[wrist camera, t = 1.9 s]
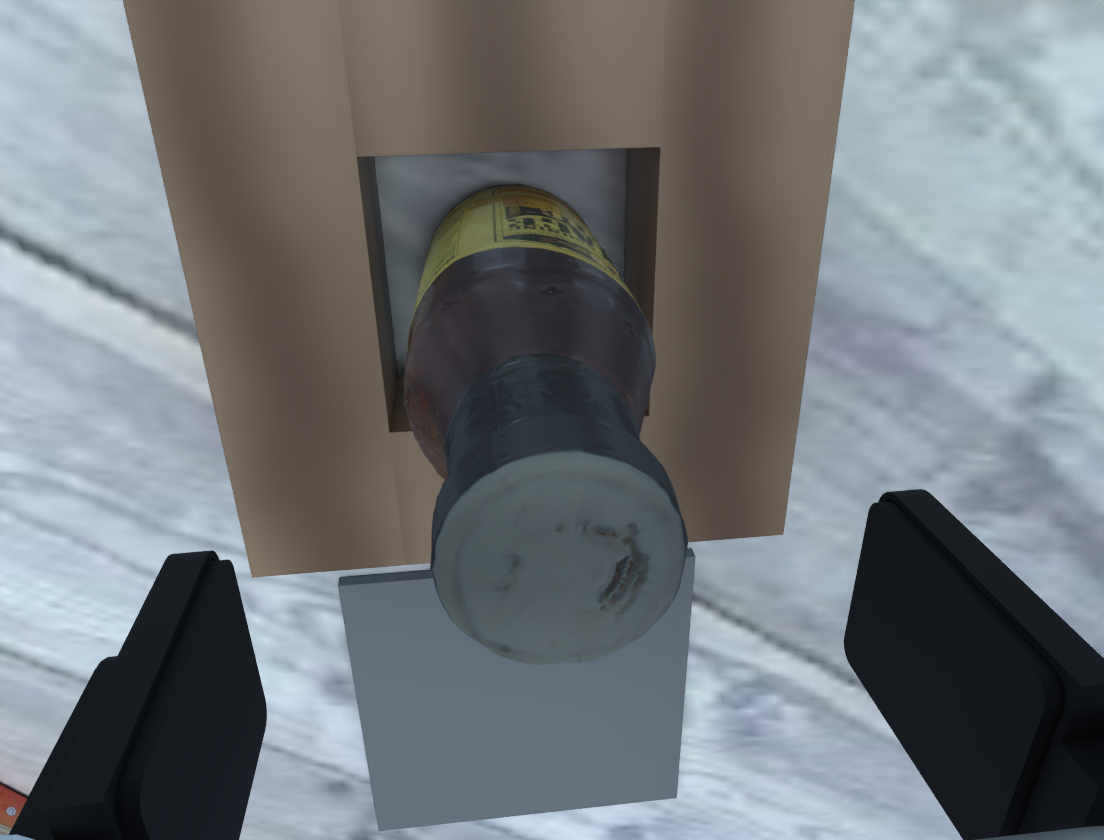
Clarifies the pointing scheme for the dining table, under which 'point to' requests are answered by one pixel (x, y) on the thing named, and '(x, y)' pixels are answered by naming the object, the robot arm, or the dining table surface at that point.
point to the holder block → (479, 127)
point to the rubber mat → (507, 712)
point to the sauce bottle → (539, 434)
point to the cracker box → (9, 809)
